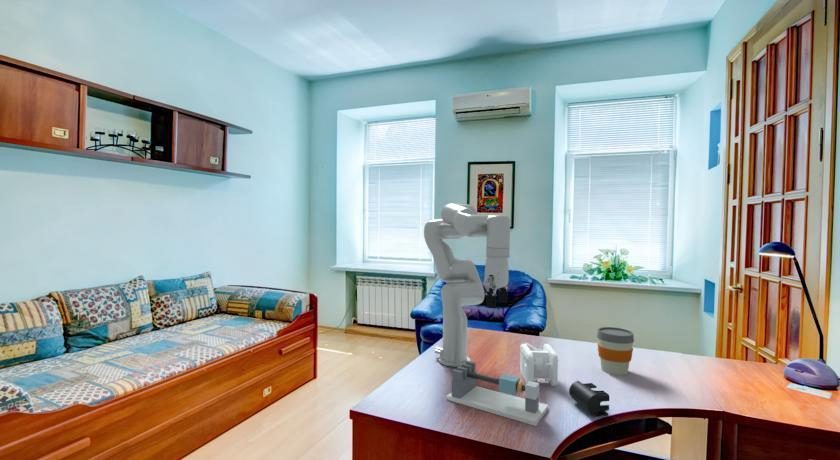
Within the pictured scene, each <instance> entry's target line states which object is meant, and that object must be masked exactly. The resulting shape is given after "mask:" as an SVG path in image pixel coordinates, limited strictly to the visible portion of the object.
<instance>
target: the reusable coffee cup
mask: <svg viewBox="0 0 840 460" xmlns="http://www.w3.org/2000/svg"><path fill="white" fill-rule="evenodd" d="M596 338H597V340H598V342H597V351H598V353H597V354H598V356H599V358H600V359H599V360H600V367H601V371H603V372H604V373H606V374H609V375H614V376H626V375H628V373H629V369H630V368H629V367H630V362H631V361H632V356H633V352H634V351H633V350H634V348H633V344H634V342H635V339H634V332H632V331H631V330H629V329H624V328H620V327H612V326H604V327H603V326H602V327H599V328H598V329H597V334H596Z"/></svg>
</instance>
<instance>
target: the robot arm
mask: <svg viewBox="0 0 840 460" xmlns="http://www.w3.org/2000/svg"><path fill="white" fill-rule="evenodd" d="M440 217H441V218H440V219H439V218H437V219H435V218H434V219H431V220H428V221H427V222H426V223H425V225H424V226H423V237H424V242H425V244H426V247H427V249H428V250H429V252H430V253H431V256H432V258H433V261H434V265H435V268H436V271H437V274H438V277H439V278H440V279H439V280H441V281H442V282H444V283H445V284H444V285H443V286H442V287H441V290H440V297H441V305H442V347H439V346H436V347H435V348H434V354H437V355H439V356H438V362H439V363H440V364H441V365H442V366H446V367H451V368H457V367H461V365H462V364H466V362H467V361H469V362H471V358H470V357H469V356H468V353H467V350H468V341H467V340H468V317H467V313H466V312H465V311H464V309H463V307H467V306H476V305H480V304H482V303H483V302H484V300H485V307H486V308H488V309H496V308H497V303H499V304H507V303H508V295H509V294H508V291H509V287H508V286H509V280H510V276H509V275H510V274H509V259H510V256H511V255H510V254H511V253H510V252H511V250H510V248H511V247H510V246H511V245H510V244H511V242H510V241H511V219H510V217H509V216H507V215H497V214H496V215H493V214H478V212H477V210H476V208H475V207H474V205H472V204H468V203H467V204H466V203H465V204H464V203H448V204H446V205H444V206H443V207H442V208H441V211H440ZM463 237H469V238H479V237H482V238H486V240H485V241H486V246H485V247H486V249H485V250H486V252H485V253H486V254H485V256H486V260H485V265H484V266H485V267H484V279H483V282H482V280H481V278H480V275H479V272H478V269H477V267H476V265H475V263H474V262H473V261H472V260H471V259H468V258H456V257H455V255H454V252H453V250H452V248H451V247H450V245H449V244H447V243H446V241H444V240H458V239H459V240H460V239H462V238H463ZM496 294H497V295H496Z"/></svg>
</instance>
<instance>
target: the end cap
mask: <svg viewBox="0 0 840 460" xmlns="http://www.w3.org/2000/svg"><path fill="white" fill-rule="evenodd" d="M597 388H598V387H597V385H595V384H594V383H593V382H590V383H589V382H588V383H587V382H586V383H583V382H581V381H579V380H576V381H574V382H572V383H571V385H570V386H569V391H568V392H569V396H570V398H571V399H572V400H574V402H575V403H577V404H578V405H580V406H581V407H582V408H583V409H584V410H586V411H587V412H588V413H589V414H591V415H592V416H593V417H596V418H598V417H607V416H609V413H608V411H610V405H609V404H601V403H602V402H610V395H609V393H607V392H605V391H604V390H595V389H597Z"/></svg>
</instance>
